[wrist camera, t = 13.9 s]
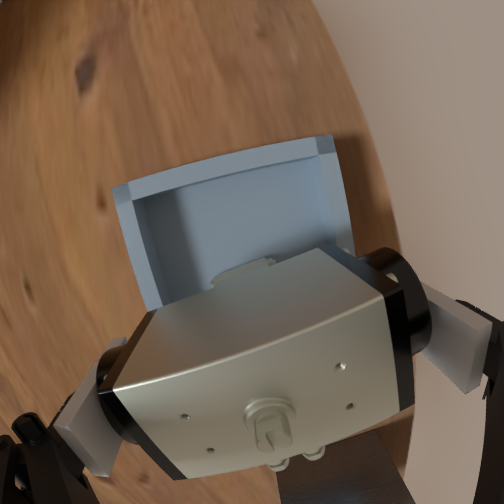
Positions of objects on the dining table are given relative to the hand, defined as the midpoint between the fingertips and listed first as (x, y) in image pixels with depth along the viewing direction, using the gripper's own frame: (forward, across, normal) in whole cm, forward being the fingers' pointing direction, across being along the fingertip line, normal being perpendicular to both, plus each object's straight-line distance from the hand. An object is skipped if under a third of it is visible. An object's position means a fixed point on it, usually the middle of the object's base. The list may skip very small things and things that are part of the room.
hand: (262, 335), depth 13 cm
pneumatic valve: (+5, 0, 0) cm, 5 cm away
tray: (+6, 0, 0) cm, 6 cm away
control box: (+6, +3, -22) cm, 23 cm away
